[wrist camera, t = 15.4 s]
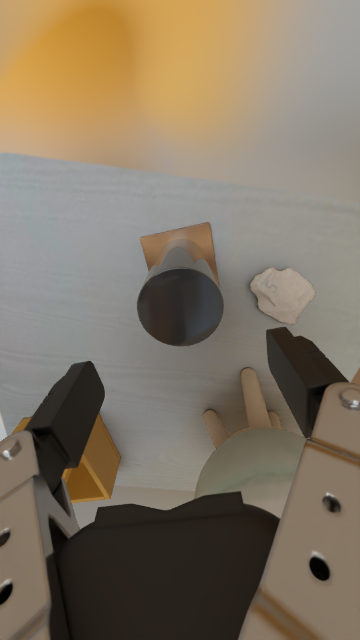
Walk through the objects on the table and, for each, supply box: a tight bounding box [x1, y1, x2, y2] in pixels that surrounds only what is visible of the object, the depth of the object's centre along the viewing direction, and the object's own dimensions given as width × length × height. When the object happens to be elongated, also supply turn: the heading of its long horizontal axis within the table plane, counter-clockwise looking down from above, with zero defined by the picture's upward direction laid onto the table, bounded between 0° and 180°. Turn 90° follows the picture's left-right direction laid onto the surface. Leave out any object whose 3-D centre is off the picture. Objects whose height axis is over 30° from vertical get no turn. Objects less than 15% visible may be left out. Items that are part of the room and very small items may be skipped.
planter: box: [194, 368, 307, 519], centre depth 27 cm, size 16×16×22 cm
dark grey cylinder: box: [137, 239, 224, 346], centre depth 21 cm, size 6×6×12 cm
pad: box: [140, 222, 219, 287], centre depth 27 cm, size 8×8×1 cm
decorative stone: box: [250, 267, 316, 325], centre depth 28 cm, size 9×6×3 cm, turn 51°
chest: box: [12, 414, 121, 503], centre depth 38 cm, size 13×13×7 cm
